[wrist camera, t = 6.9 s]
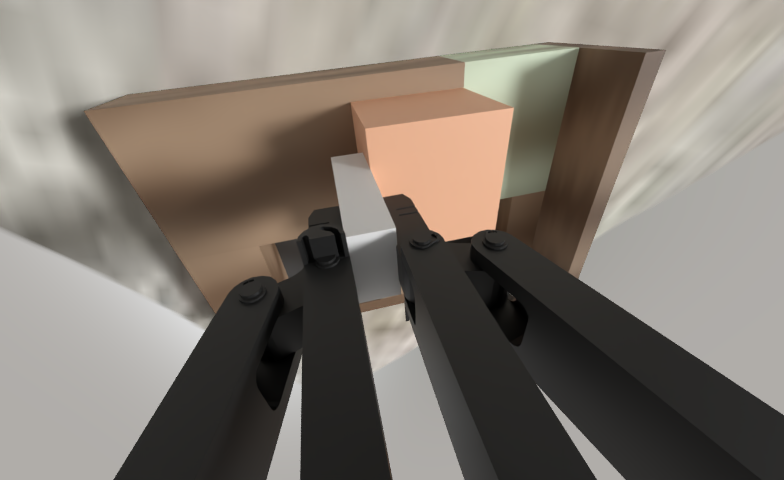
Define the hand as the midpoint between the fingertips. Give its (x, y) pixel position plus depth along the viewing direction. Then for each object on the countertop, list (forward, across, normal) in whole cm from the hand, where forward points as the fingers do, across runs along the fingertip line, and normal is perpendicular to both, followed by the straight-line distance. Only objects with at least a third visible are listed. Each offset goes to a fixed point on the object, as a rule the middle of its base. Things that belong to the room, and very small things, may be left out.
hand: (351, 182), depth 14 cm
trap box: (+7, +2, -4) cm, 8 cm away
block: (+3, +4, 0) cm, 5 cm away
